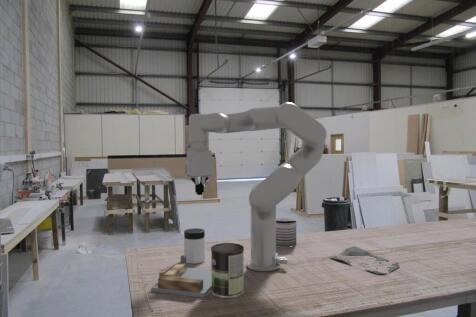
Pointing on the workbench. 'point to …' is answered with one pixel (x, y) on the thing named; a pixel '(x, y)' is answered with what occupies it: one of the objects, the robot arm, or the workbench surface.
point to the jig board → (192, 274)
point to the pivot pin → (183, 259)
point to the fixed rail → (180, 284)
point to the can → (285, 232)
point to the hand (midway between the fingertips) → (199, 194)
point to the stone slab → (360, 252)
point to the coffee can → (227, 270)
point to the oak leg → (176, 270)
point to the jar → (194, 245)
